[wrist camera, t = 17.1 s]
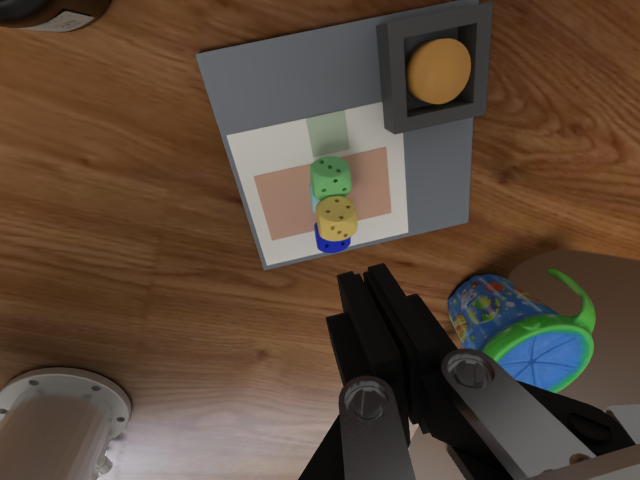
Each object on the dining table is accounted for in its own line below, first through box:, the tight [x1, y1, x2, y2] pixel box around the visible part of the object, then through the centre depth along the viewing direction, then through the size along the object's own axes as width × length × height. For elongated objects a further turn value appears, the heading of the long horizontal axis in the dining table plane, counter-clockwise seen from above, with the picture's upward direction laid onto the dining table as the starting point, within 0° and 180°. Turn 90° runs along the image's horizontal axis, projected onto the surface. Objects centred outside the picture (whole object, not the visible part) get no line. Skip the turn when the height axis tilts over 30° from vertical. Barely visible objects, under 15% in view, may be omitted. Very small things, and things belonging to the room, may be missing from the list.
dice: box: [309, 156, 358, 253], centre depth 26 cm, size 8×3×6 cm, turn 5°
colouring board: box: [195, 0, 493, 270], centre depth 27 cm, size 18×20×4 cm
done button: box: [405, 38, 471, 104], centre depth 24 cm, size 4×4×2 cm
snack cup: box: [448, 268, 596, 393], centre depth 35 cm, size 16×10×10 cm
